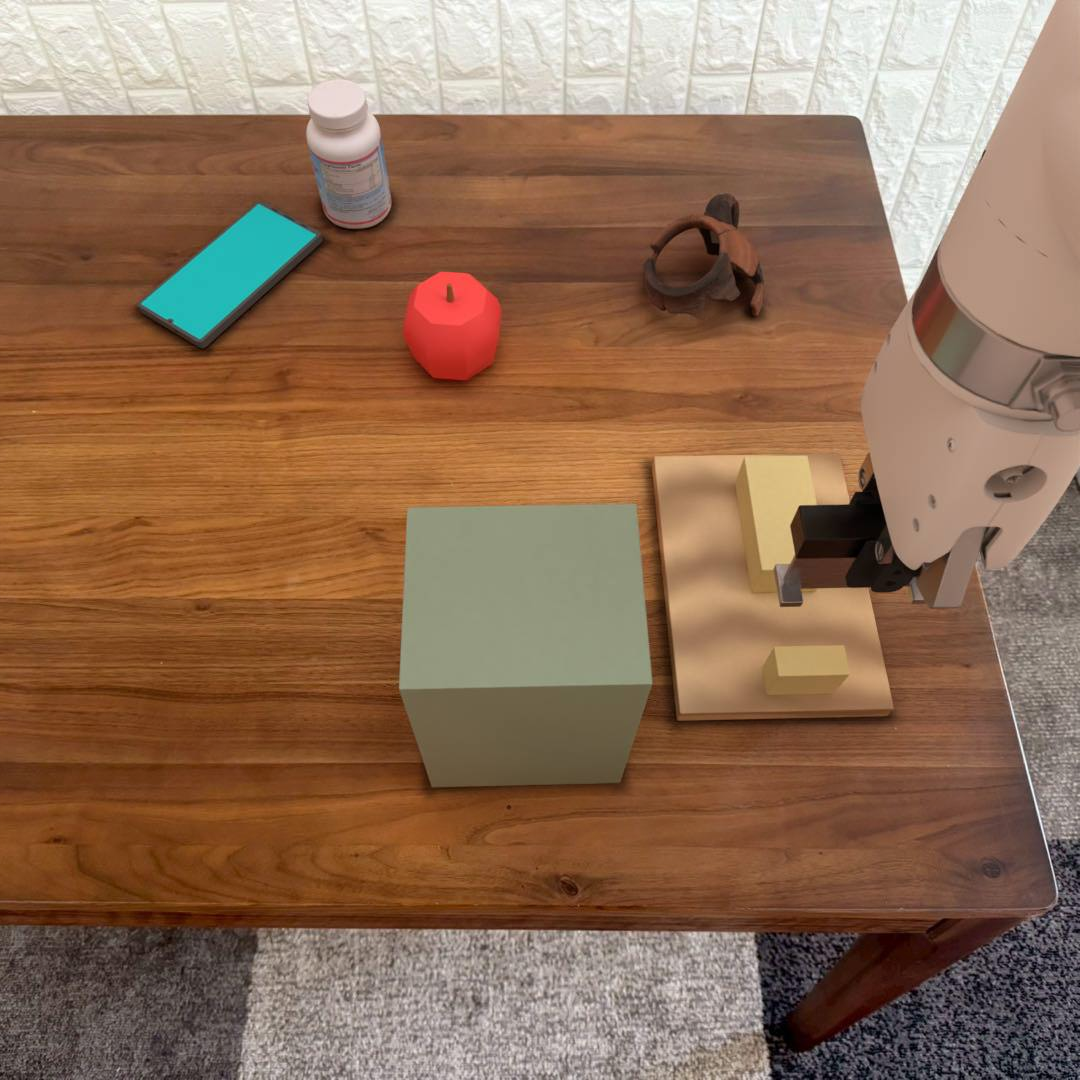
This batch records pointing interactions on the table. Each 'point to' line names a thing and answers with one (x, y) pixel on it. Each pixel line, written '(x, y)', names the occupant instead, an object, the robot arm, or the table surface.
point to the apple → (452, 325)
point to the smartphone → (230, 274)
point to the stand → (524, 642)
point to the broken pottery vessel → (719, 241)
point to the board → (751, 603)
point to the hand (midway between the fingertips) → (870, 557)
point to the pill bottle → (347, 155)
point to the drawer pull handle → (829, 549)
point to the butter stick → (771, 512)
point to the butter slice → (805, 670)
